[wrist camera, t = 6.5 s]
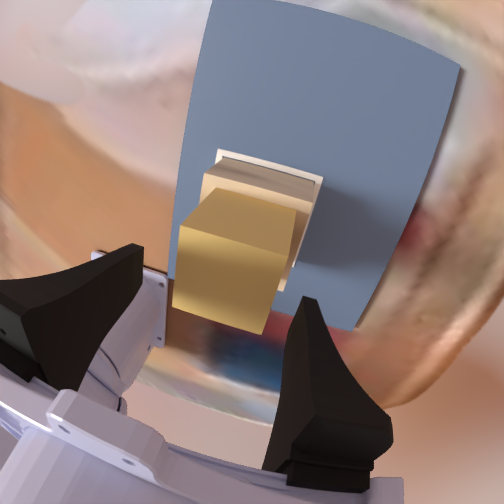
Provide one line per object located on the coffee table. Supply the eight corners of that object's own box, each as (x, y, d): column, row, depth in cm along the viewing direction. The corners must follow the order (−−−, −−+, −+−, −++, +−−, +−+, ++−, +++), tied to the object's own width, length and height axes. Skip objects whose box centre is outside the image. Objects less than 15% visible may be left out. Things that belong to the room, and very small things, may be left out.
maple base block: (288, 259, 23) (282, 291, 19) (209, 235, 23) (190, 263, 20) (313, 181, 20) (312, 202, 16) (223, 157, 20) (204, 173, 17)
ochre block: (275, 277, 19) (261, 335, 15) (203, 256, 19) (171, 306, 15) (296, 209, 17) (288, 256, 12) (215, 187, 17) (180, 225, 13)
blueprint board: (351, 326, 26) (351, 332, 25) (170, 273, 26) (166, 278, 26) (456, 65, 14) (461, 65, 14) (217, -5, 15) (213, -8, 14)
